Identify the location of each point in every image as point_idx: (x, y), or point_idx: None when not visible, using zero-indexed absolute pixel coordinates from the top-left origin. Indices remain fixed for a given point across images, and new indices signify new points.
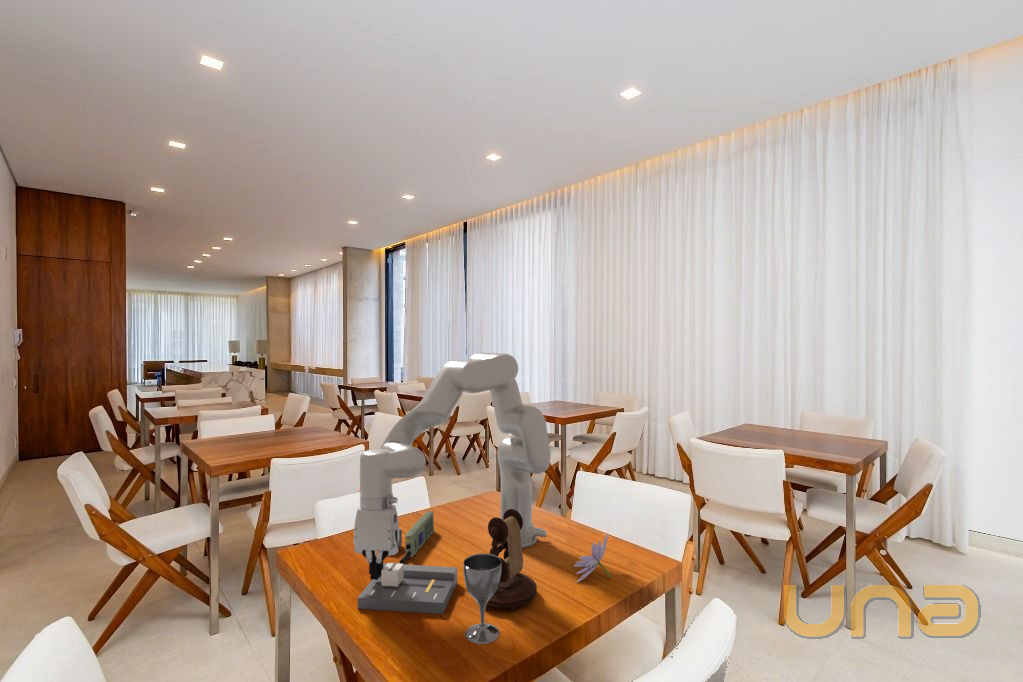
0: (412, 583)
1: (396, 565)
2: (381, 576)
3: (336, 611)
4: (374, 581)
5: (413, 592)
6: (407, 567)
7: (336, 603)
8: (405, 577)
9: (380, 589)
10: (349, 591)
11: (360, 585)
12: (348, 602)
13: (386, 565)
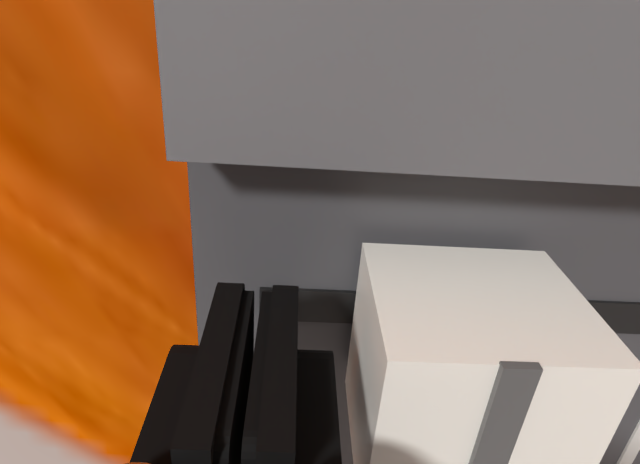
0: (631, 294)
1: (540, 417)
2: (353, 458)
3: (101, 448)
4: (234, 281)
5: (632, 414)
6: (623, 101)
7: (38, 381)
8: (556, 184)
9: (345, 394)
10: (20, 233)
11: (52, 125)
12: (116, 367)
13: (390, 426)
